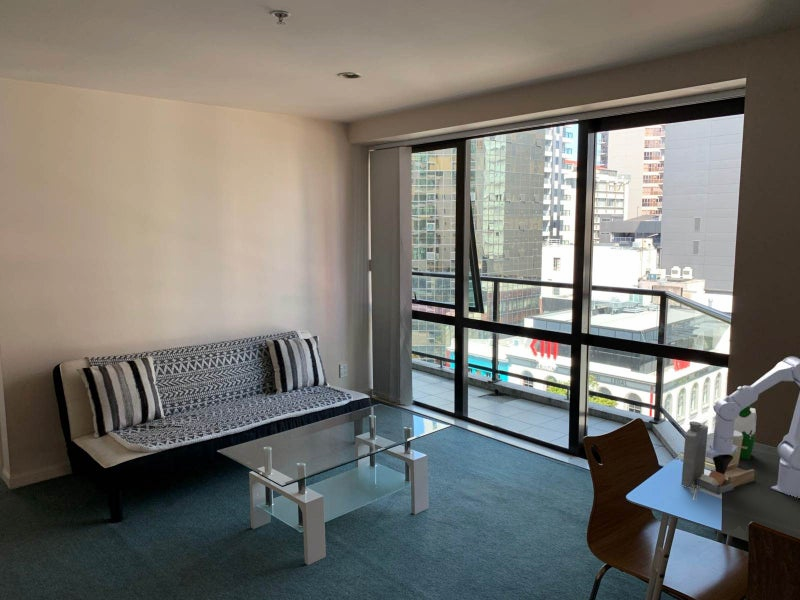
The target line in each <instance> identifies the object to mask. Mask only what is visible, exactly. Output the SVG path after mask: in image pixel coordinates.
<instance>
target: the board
mask: <svg viewBox="0 0 800 600" xmlns="http://www.w3.org/2000/svg"><path fill="white" fill-rule="evenodd" d="M712 470H714V471H716V469H715V468H713V469H711V470H710V472H711V471H712ZM755 472H756V471H755V469H753V468H752V469H749V470H747V469H743V468H740V467H738V466H737V464H736V463H734V464H730V465H728V467H727V469H726V471H725V474H724V475H725V477H726V478H725V480H724V482H723V483H722V485H728V484H731V483H733V484H734V486H733V488H736V487H739V486H742V485H746V484H747V483H751V482H754V481H755V475H756V473H755Z"/></svg>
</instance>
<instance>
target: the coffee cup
mask: <svg viewBox="0 0 800 600" xmlns="http://www.w3.org/2000/svg"><path fill="white" fill-rule="evenodd" d="M742 439H743V435H742V433H741V432H739V431H736V430H734V436H733V445H736V446H738V450H737V452H733V453H732V454H729V455H732V456H733V459H732V460H731V462H730V463H729V465H730V464H734V463H736V464H737V467H738V466H739V462H740V451H741V445H742Z"/></svg>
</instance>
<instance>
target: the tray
mask: <svg viewBox="0 0 800 600" xmlns="http://www.w3.org/2000/svg"><path fill="white" fill-rule="evenodd" d="M697 485H698V486H697ZM695 486H697V487H699V486H700V488H701V487H702V489H704V490H707V491H709V492H712V493H714V494H717V495H721V494H724V493H727V492H730V491H733V490H734V487H733V486H734V484H733V483H731V484H728V485H721V487H716V486H713V485H711V484H708V483H706V482H703V481H701V480H700V478H699V479H696V481H695Z"/></svg>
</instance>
